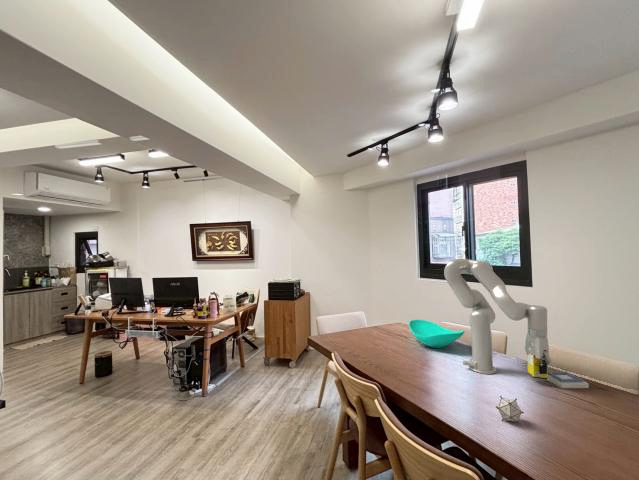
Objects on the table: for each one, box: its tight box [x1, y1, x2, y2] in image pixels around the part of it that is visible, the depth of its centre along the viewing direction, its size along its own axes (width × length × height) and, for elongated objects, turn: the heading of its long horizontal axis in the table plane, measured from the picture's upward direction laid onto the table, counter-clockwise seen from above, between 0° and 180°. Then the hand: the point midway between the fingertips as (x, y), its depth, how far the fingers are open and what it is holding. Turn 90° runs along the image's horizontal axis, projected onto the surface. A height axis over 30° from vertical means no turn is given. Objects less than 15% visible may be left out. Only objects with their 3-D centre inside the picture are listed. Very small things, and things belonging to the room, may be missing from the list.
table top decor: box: [408, 319, 465, 349], centre depth 199 cm, size 40×28×13 cm
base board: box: [545, 371, 590, 389], centre depth 142 cm, size 12×12×3 cm
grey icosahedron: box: [495, 395, 525, 425], centre depth 111 cm, size 9×8×10 cm
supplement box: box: [527, 353, 549, 380], centre depth 142 cm, size 6×6×11 cm
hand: (537, 370), depth 142 cm, fingers closed on supplement box, 6 cm apart
